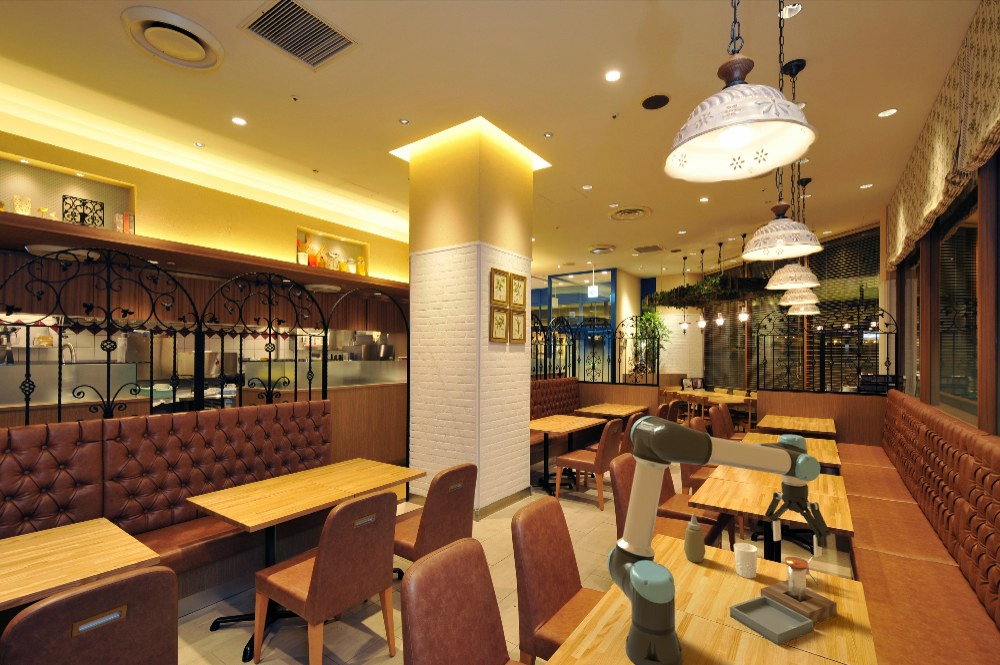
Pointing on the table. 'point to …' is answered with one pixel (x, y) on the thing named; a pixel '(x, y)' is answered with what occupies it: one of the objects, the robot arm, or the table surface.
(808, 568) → the lily
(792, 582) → the copper-capped cylinder
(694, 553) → the squeeze bottle
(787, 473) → the robot arm
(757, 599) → the tray
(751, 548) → the white cup
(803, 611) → the socket block
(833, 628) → the table surface
